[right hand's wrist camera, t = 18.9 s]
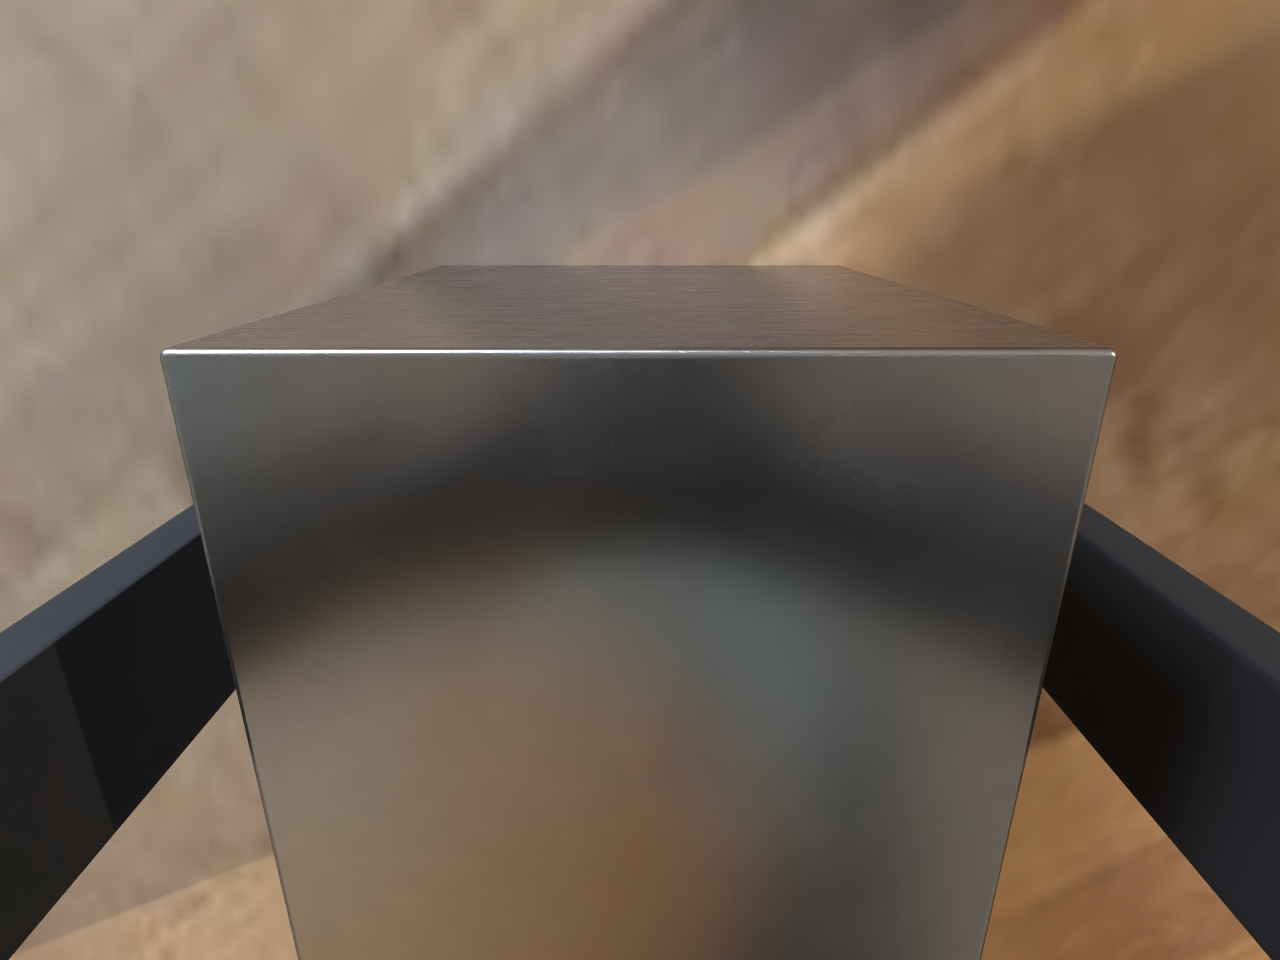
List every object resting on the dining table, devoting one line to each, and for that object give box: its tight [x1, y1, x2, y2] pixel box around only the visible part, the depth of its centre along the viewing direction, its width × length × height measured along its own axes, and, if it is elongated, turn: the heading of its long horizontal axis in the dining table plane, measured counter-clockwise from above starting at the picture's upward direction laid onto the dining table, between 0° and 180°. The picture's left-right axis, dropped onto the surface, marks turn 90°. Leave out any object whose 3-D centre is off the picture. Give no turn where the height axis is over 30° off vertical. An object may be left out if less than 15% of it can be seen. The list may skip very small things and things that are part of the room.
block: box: [160, 266, 1117, 960], centre depth 12 cm, size 8×9×9 cm
